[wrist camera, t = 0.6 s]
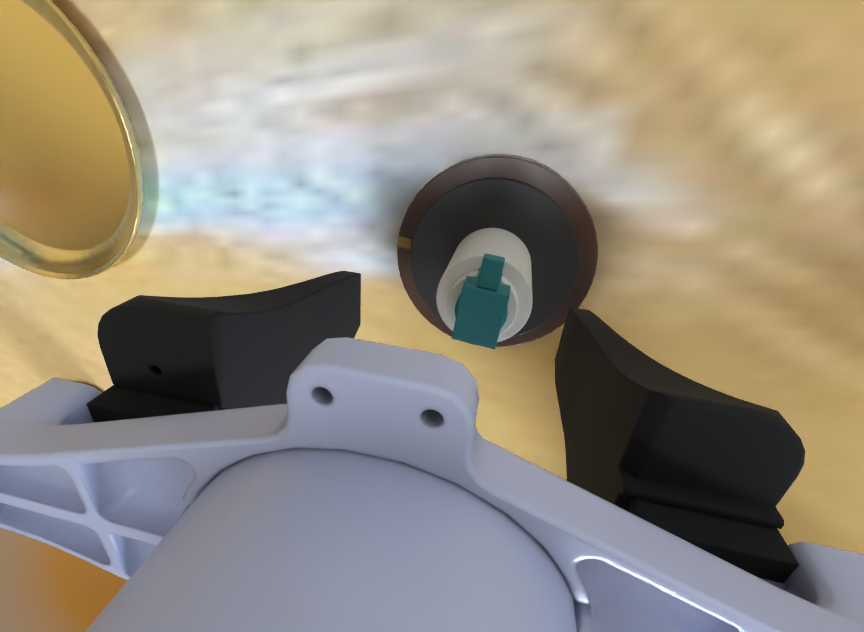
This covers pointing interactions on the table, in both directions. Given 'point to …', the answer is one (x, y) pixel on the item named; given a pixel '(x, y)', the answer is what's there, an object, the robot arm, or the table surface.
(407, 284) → the turntable base
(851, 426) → the table surface
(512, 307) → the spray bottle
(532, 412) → the table surface
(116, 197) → the serving platter
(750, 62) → the table surface
